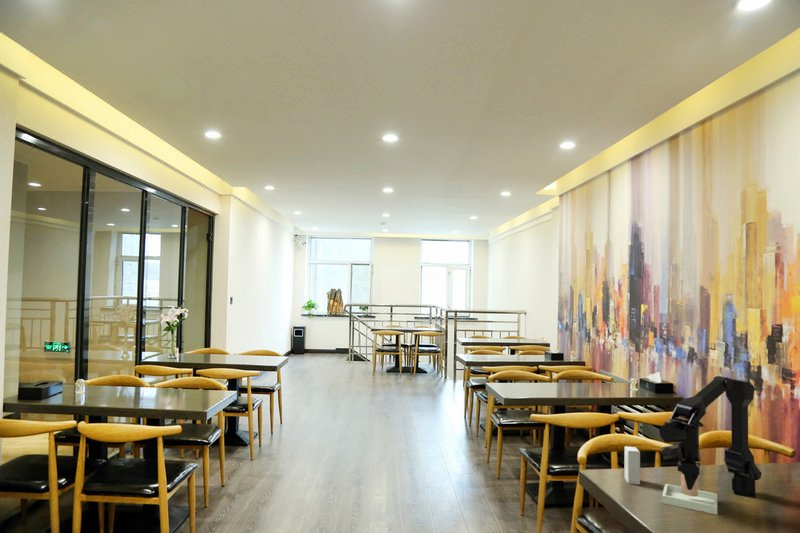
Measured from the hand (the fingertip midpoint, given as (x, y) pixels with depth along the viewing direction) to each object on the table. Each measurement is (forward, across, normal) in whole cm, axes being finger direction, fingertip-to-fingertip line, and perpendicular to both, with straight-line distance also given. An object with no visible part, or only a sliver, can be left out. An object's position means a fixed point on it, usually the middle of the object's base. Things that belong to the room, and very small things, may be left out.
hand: (689, 487), depth 169 cm
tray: (+5, 0, 0) cm, 5 cm away
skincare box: (+5, -9, -19) cm, 22 cm away
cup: (+2, 0, 0) cm, 2 cm away
